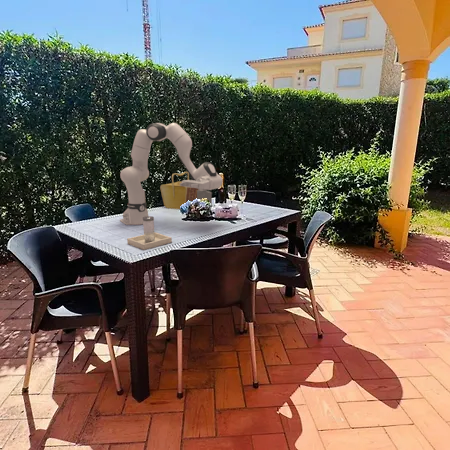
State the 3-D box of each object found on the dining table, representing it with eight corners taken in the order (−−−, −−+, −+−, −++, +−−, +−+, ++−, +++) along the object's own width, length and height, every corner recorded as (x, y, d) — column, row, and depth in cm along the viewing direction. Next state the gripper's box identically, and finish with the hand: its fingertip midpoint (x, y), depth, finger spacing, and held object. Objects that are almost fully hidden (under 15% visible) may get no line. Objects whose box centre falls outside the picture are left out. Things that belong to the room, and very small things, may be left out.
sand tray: (127, 243, 170) (127, 238, 169) (154, 237, 183) (154, 232, 182) (144, 250, 160) (143, 244, 159) (171, 242, 172) (171, 237, 172)
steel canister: (142, 242, 171) (140, 217, 167) (151, 239, 175) (149, 215, 172) (148, 244, 167) (146, 219, 164) (157, 241, 171) (155, 217, 168)
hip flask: (196, 211, 254) (196, 187, 249) (200, 211, 257) (199, 187, 252) (209, 214, 243) (209, 189, 238) (213, 214, 246) (213, 188, 241)
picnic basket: (177, 202, 294) (176, 170, 287) (201, 204, 285) (201, 171, 278) (160, 208, 268) (158, 173, 260) (186, 210, 259) (185, 174, 251)
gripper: (191, 177, 202) (174, 178, 192) (213, 179, 188) (196, 181, 178) (191, 186, 203) (174, 188, 193) (213, 190, 190) (197, 192, 180)
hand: (185, 185), depth 186 cm, fingers open, 8 cm apart
